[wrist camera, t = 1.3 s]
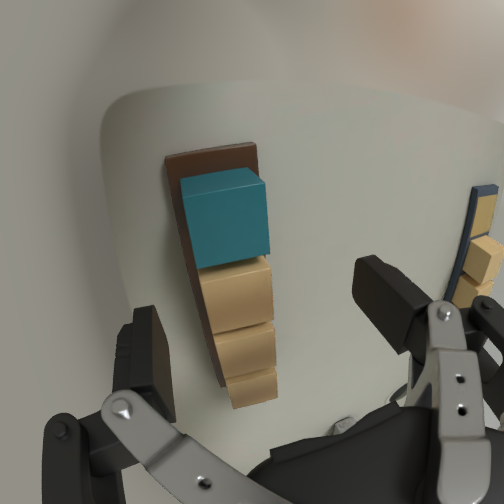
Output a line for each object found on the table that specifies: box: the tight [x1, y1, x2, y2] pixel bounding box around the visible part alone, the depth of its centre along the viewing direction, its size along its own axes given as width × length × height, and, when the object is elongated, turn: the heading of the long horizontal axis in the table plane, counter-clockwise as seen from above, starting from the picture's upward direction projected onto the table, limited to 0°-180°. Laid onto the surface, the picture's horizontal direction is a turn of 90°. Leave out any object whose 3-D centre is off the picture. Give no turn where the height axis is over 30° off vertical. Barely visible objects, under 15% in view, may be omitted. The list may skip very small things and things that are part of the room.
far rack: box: [443, 184, 504, 309], centre depth 32 cm, size 24×6×5 cm, turn 5°
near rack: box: [165, 142, 278, 409], centre depth 23 cm, size 24×6×5 cm, turn 5°
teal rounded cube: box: [180, 167, 270, 269], centre depth 18 cm, size 4×4×4 cm
